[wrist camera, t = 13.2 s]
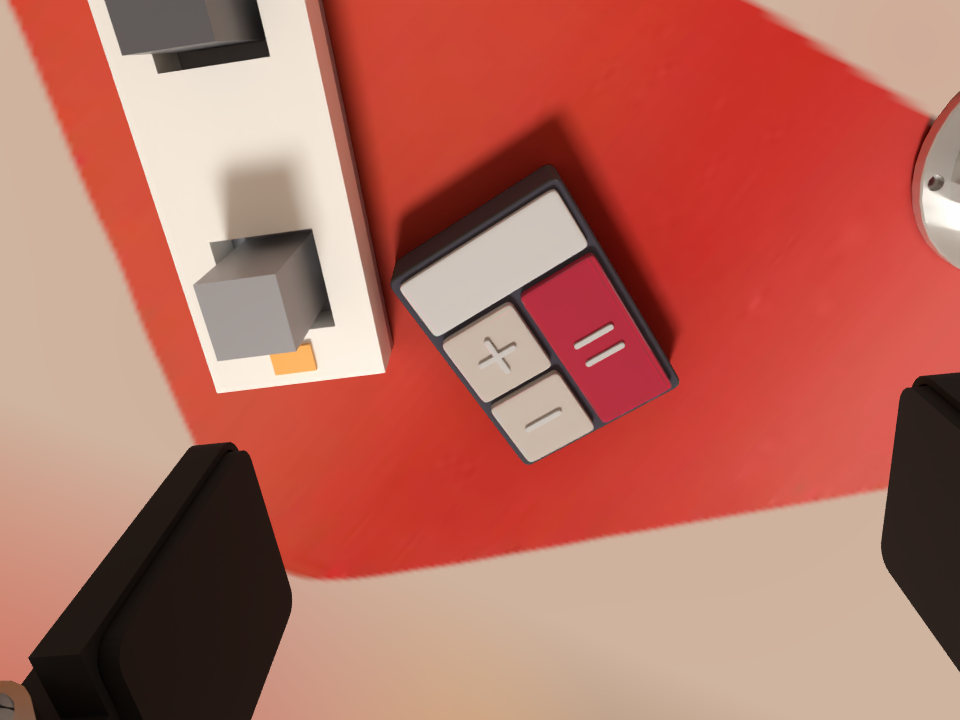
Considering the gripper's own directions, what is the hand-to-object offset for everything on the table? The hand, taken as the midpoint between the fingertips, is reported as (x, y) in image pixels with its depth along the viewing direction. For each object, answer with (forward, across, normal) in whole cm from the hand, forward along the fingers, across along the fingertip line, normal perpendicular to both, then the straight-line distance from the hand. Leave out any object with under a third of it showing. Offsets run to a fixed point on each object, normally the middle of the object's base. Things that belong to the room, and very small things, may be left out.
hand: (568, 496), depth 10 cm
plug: (+31, +14, -10) cm, 35 cm away
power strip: (+32, +14, -2) cm, 35 cm away
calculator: (+33, 0, +10) cm, 34 cm away
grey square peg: (+31, +14, +5) cm, 34 cm away
